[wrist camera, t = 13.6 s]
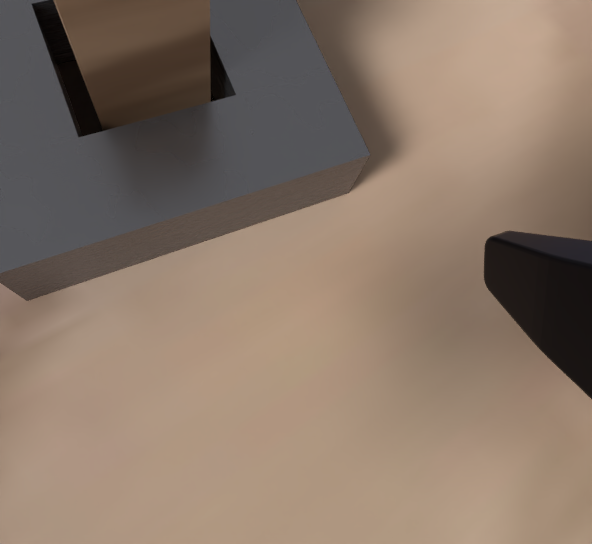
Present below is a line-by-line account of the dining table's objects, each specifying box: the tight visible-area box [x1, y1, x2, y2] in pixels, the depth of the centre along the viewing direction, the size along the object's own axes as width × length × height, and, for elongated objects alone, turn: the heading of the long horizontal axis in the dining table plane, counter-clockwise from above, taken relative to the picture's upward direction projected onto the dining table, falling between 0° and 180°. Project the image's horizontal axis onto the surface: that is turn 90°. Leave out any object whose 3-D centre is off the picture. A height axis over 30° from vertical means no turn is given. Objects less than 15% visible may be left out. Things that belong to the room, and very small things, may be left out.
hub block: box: [0, 0, 370, 301], centre depth 22 cm, size 14×14×4 cm
